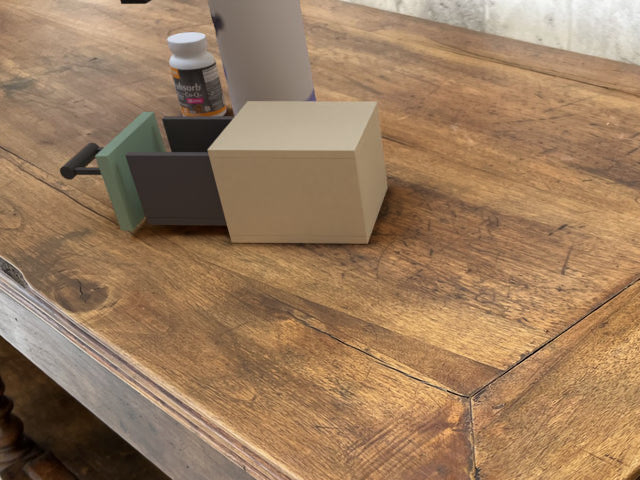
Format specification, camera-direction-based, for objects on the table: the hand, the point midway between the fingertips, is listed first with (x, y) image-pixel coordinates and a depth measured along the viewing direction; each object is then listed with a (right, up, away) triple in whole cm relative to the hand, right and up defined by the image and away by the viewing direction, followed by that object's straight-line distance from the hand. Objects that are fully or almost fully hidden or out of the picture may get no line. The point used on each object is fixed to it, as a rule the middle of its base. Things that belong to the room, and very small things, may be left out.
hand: (136, 1), depth 86 cm
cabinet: (+20, -23, -2) cm, 31 cm away
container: (+11, -10, +14) cm, 21 cm away
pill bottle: (0, -6, +20) cm, 21 cm away
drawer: (+5, -23, -2) cm, 23 cm away
